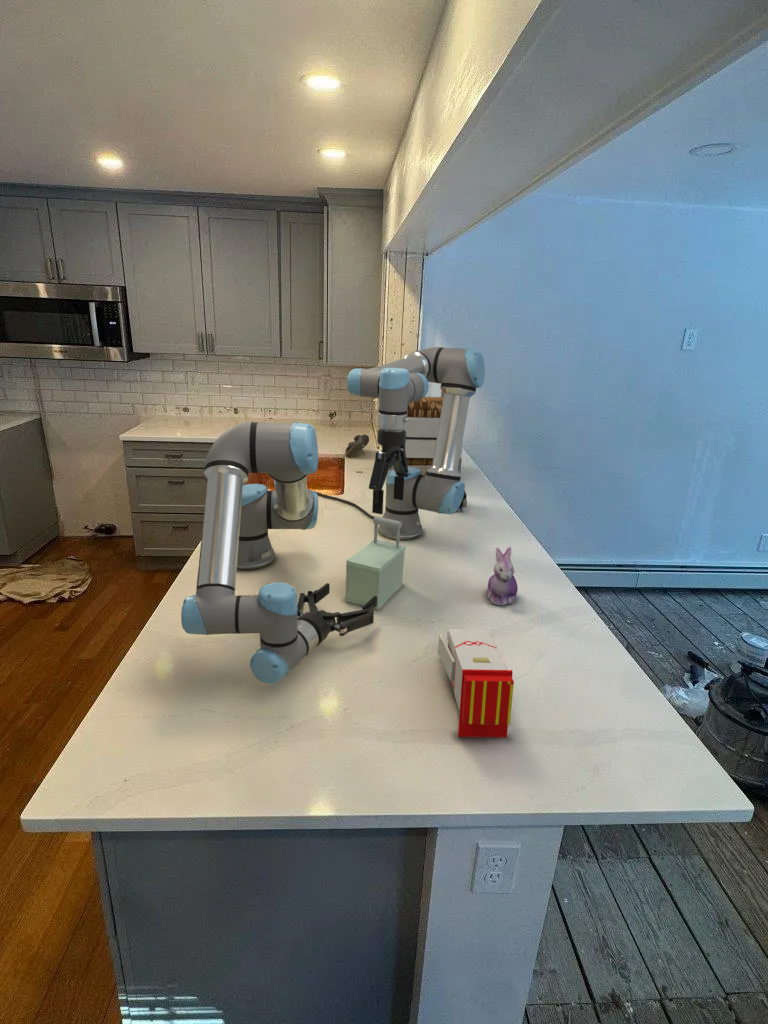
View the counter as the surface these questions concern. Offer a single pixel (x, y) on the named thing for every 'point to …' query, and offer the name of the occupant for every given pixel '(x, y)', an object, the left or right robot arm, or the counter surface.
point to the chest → (374, 582)
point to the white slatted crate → (423, 431)
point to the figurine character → (463, 502)
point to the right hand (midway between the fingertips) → (388, 506)
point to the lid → (378, 549)
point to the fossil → (357, 445)
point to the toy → (478, 682)
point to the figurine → (502, 580)
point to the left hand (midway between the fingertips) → (351, 594)
